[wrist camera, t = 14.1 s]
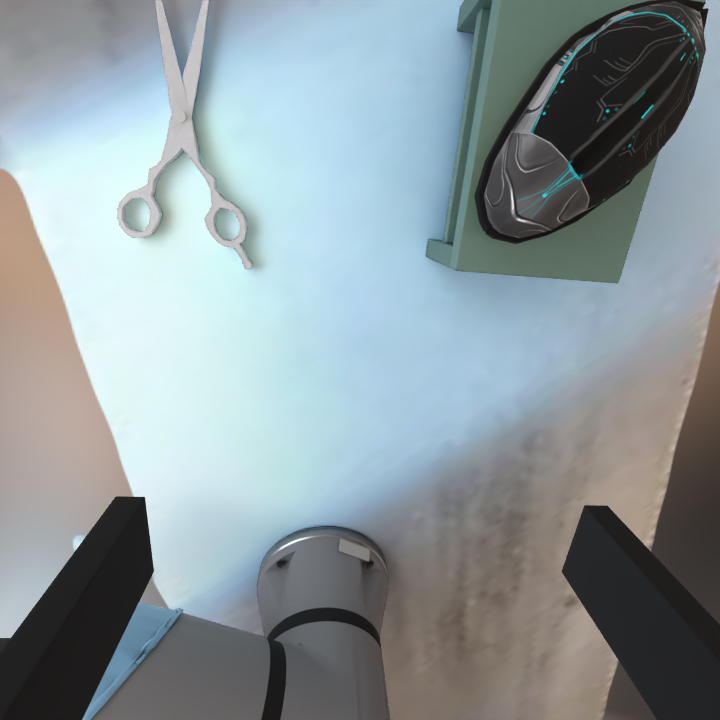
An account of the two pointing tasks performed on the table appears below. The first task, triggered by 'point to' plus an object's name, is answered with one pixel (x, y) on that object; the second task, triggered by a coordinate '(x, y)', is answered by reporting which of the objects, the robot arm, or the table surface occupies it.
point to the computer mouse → (592, 119)
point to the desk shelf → (484, 123)
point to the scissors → (183, 138)
